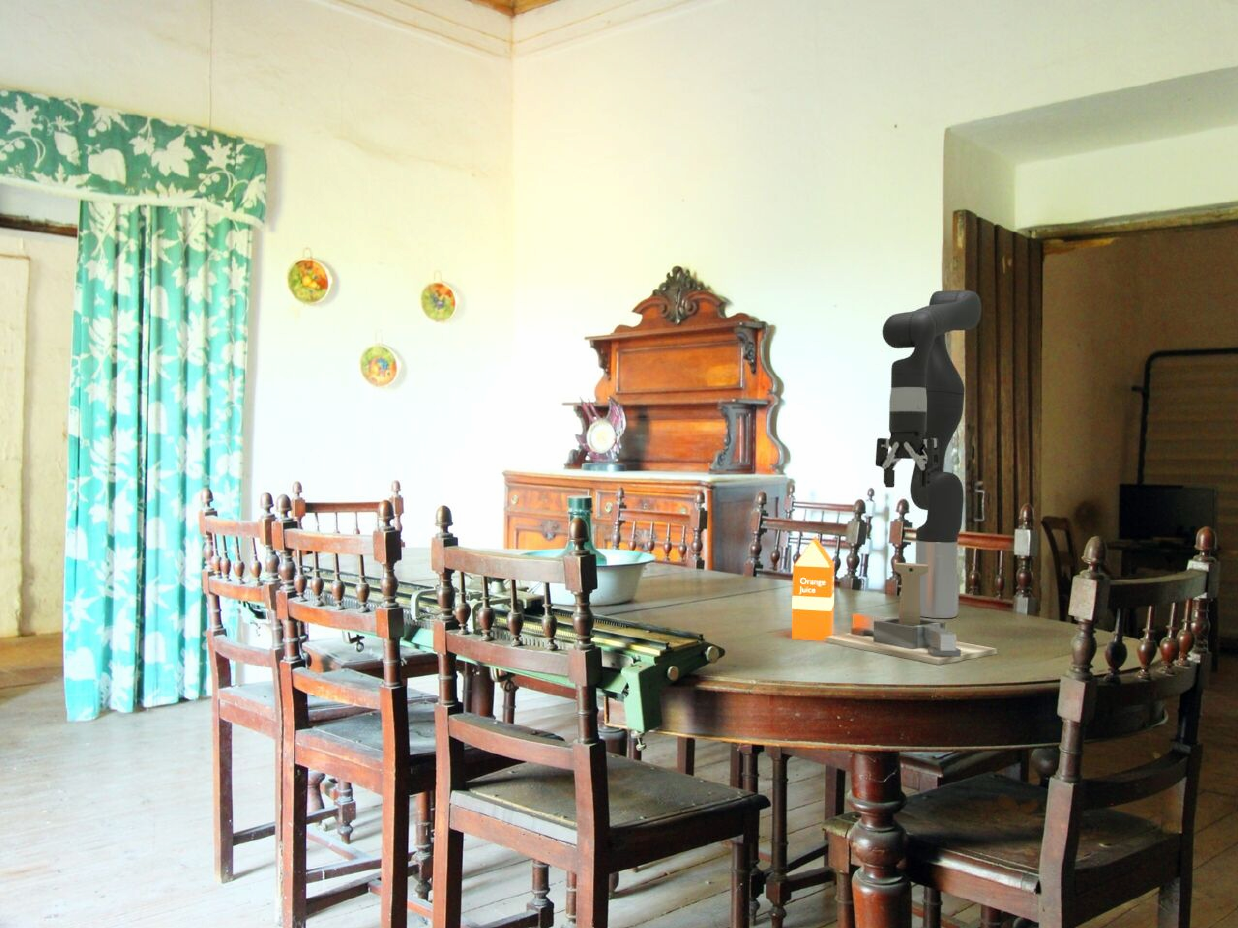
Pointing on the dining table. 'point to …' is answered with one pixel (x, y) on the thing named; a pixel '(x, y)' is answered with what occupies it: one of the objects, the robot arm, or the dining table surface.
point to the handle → (910, 592)
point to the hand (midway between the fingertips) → (906, 488)
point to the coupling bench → (907, 642)
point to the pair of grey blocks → (932, 635)
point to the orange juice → (813, 594)
